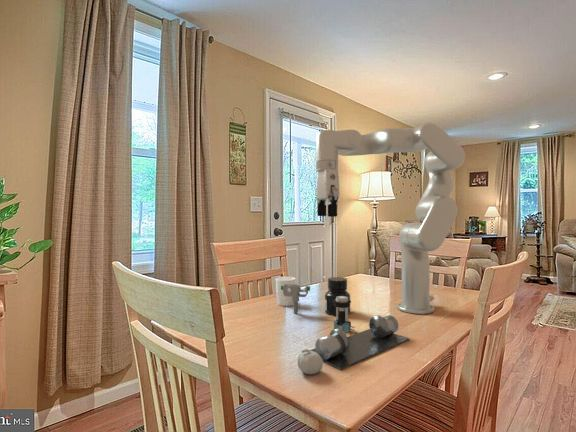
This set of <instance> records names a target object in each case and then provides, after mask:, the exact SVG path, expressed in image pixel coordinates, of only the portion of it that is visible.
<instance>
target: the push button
mask: <svg viewBox="0 0 576 432" xmlns="http://www.w3.org/2000/svg"><path fill="white" fill-rule="evenodd" d="M333 302H334V306H336V315H335V316H336V317H335V320H334V322H333V330H334V329H341V330H342V331H344V332H345V333H349V332H350V331H354V332H355V331H356V329H355V328H356V327H355V326H354V325H353V326H352V322H351V321H350V319H349V314H348V307H350V308H351V302H352V301H351V299H350V300H349V299H348V297H346V296H337V297H336V299H334V300H333Z"/></svg>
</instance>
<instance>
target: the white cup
mask: <svg viewBox="0 0 576 432" xmlns="http://www.w3.org/2000/svg"><path fill="white" fill-rule="evenodd" d="M296 279H297V278H296V277H294V276H278V277H275V291H276V303H277V305H278V306H282V307H289V306H294V304H293V301H292V297H288V296H284V294H283V290H281V285H284V284H296V282H297V281H296ZM287 290H288V291H291V289H290V288H288V289H287Z"/></svg>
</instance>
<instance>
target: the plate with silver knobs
mask: <svg viewBox="0 0 576 432" xmlns="http://www.w3.org/2000/svg"><path fill="white" fill-rule="evenodd" d="M368 326H369V328H367V329H366V330H363V331H359V332H358V333H355V334H352V335H349V336H348V335H347V334H346V332H344V331H342V330H341V329H334V328H333V329H332V330H331V331H330V333H329V334H328V335H326V336H323V337H320V338H317V340H316V341H315V344H314V347H315V348H312V349H310V350H309V349H308V350H309V351H314V352H316V353H317V354H319V355H320V357H321V358H322V360H323V363H325V364H327V365H328V366H331V367H334V368H336V369H337V370H340V371H343V370H345V369H347V368H349V367H351V366H354V365H356V364H358V363H361V362H363V361H365V360H368V359H370V358H372V357H375V356H377V355H379V354H381V353H383V352H386V351H388V350H391V349H393V348H394V347H397V346H400V345H402V344H404V343H406V342H409V341H410V337H407V336H403V335H401V334H396V332H398V330H399V322H398V320H397V318H395V316H393V315H386V316H380V315H375V316H372V317H371V318H370V320H369V325H368Z"/></svg>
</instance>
